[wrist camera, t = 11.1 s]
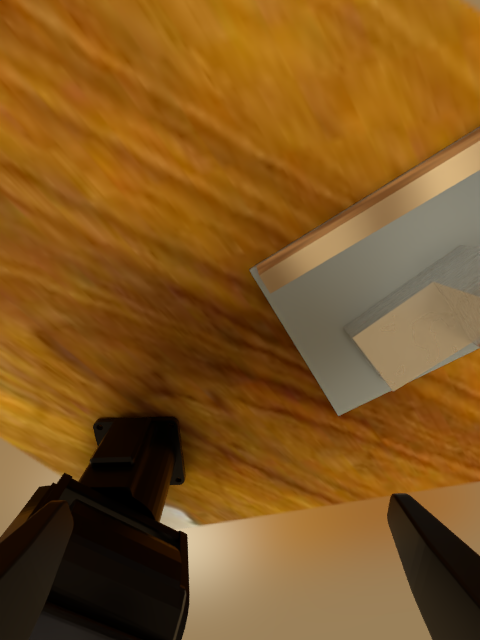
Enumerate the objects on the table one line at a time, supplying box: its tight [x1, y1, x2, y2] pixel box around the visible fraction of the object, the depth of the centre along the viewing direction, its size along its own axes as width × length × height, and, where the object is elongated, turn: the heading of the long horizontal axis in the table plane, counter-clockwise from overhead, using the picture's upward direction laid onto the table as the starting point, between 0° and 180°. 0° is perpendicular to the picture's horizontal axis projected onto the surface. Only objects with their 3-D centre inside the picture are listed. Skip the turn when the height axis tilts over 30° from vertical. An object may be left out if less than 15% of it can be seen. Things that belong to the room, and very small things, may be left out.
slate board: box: [249, 127, 480, 416], centre depth 19 cm, size 16×13×1 cm
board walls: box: [256, 128, 480, 294], centre depth 17 cm, size 15×10×4 cm, turn 122°
